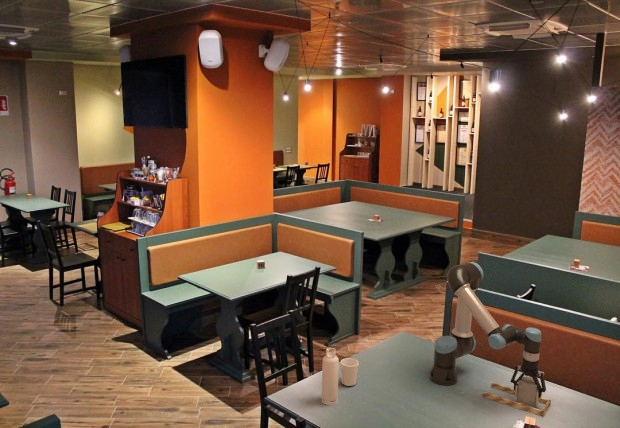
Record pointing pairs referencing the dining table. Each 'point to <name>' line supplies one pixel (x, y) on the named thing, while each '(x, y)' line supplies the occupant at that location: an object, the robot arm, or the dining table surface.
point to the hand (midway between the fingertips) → (526, 399)
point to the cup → (349, 371)
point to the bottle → (330, 377)
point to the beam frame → (516, 404)
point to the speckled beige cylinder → (527, 391)
